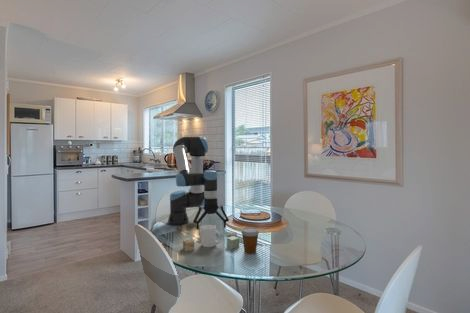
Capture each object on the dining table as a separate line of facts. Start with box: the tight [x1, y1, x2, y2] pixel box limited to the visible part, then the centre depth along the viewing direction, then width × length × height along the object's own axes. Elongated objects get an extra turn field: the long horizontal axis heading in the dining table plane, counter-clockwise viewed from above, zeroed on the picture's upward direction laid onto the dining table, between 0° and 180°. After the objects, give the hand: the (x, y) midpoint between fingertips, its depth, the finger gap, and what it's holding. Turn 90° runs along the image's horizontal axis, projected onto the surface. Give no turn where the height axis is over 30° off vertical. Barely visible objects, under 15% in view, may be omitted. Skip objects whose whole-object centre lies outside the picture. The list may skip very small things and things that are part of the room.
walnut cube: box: [227, 231, 238, 238], centre depth 161 cm, size 5×5×5 cm
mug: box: [200, 224, 222, 248], centre depth 156 cm, size 9×12×11 cm
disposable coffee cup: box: [241, 226, 260, 255], centre depth 147 cm, size 10×10×12 cm
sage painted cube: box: [226, 236, 240, 250], centre depth 154 cm, size 5×5×5 cm
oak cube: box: [182, 237, 195, 252], centre depth 151 cm, size 5×5×5 cm
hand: (211, 234), depth 156 cm, fingers open, 13 cm apart
